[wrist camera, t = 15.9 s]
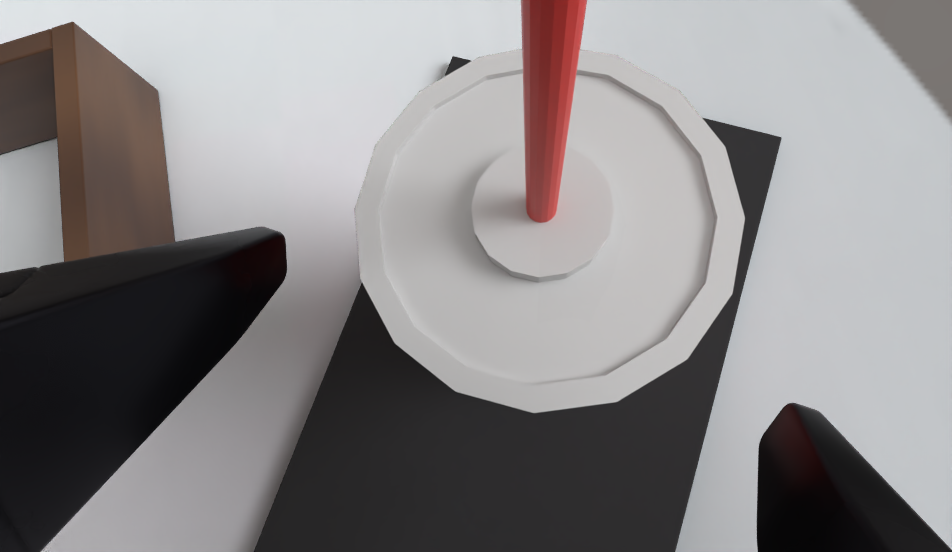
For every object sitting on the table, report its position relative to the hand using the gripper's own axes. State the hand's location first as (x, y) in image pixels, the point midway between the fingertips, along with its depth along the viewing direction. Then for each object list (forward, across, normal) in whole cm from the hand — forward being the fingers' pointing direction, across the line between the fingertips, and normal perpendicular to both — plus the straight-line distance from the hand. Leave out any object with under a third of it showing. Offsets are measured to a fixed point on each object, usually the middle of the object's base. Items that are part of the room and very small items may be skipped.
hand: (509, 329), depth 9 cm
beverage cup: (+7, 0, +4) cm, 8 cm away
